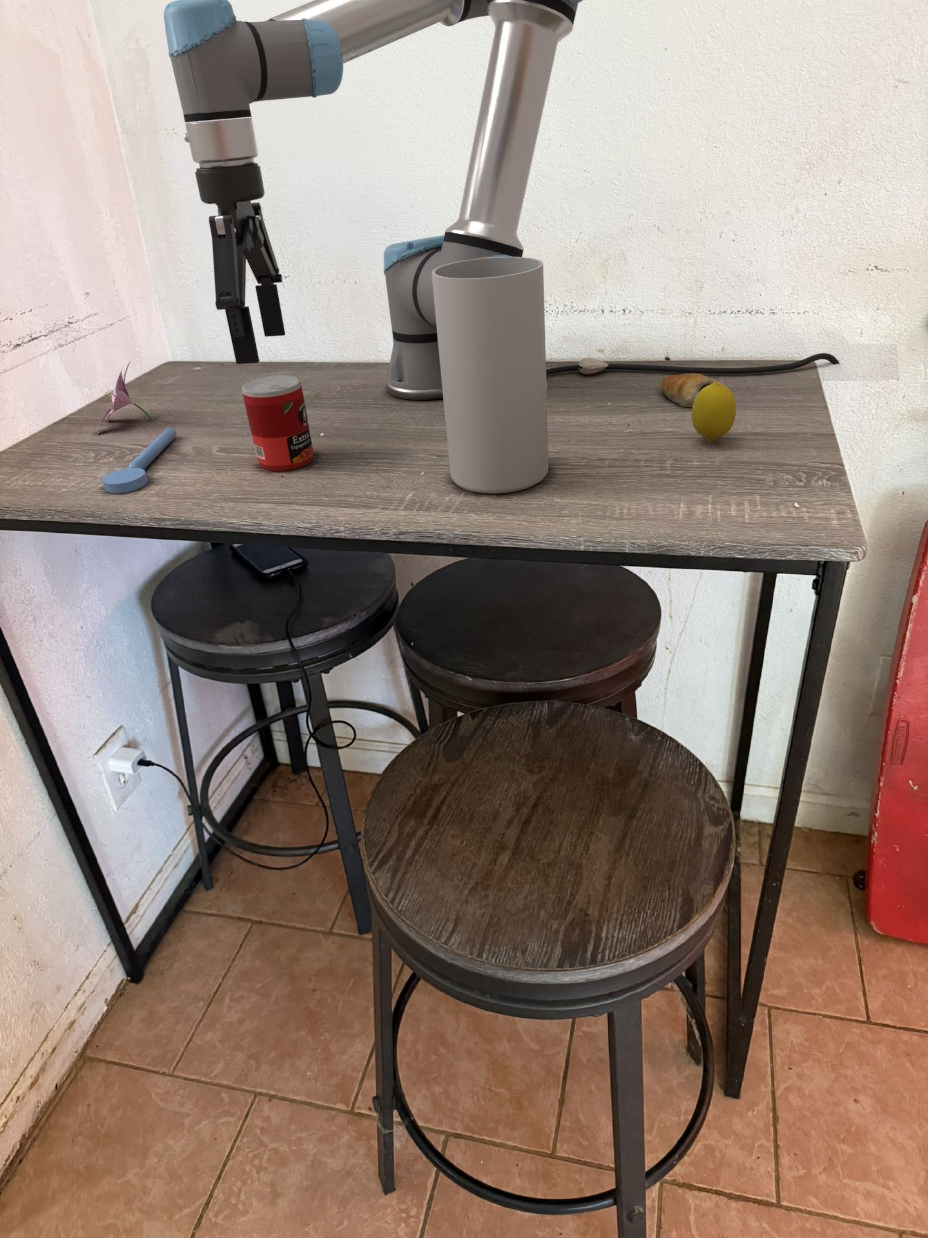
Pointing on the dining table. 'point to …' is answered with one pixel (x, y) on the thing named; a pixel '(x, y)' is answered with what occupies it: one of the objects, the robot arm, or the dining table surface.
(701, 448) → the dining table surface
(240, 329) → the robot arm
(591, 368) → the seashell
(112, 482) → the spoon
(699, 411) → the lemon
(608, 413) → the dining table surface
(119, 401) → the lily
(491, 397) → the cylinder vase
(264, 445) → the canned food
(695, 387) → the pastry
